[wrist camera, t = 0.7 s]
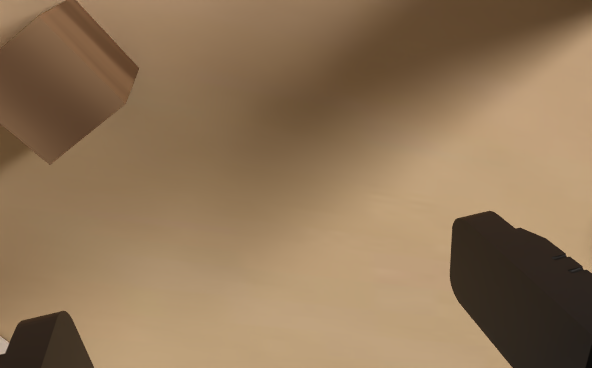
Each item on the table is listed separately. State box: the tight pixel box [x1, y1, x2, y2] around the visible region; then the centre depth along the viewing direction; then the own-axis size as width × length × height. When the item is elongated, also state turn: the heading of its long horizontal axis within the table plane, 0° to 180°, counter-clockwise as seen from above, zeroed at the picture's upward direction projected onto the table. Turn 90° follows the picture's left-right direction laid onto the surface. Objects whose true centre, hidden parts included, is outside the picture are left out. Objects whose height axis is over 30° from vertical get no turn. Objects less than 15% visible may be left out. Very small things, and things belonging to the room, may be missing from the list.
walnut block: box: [0, 0, 139, 165], centre depth 22 cm, size 4×4×6 cm
